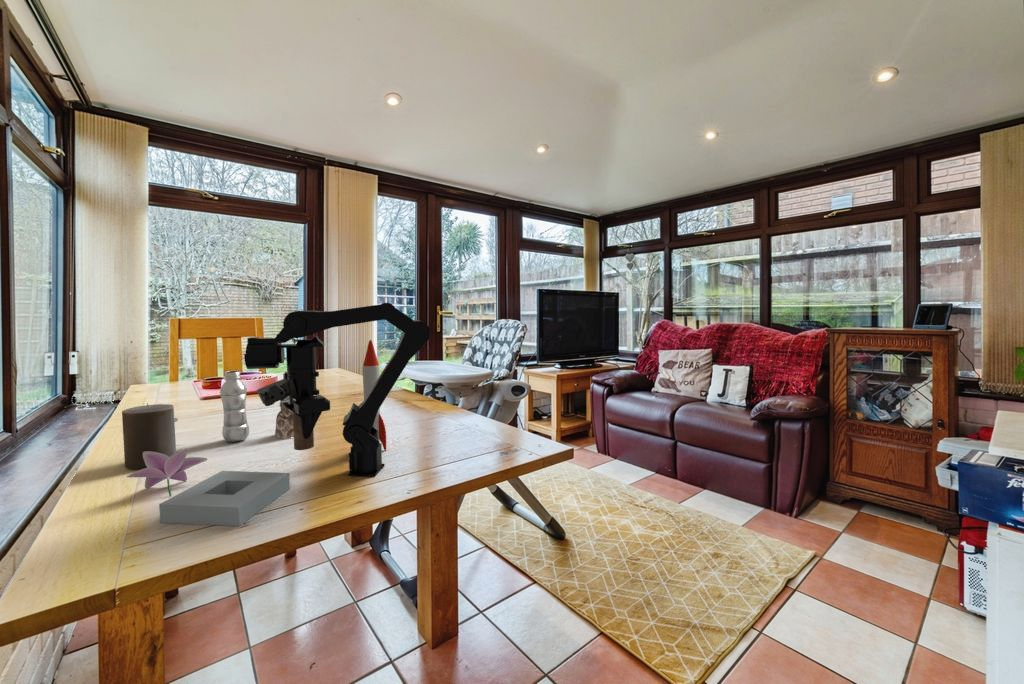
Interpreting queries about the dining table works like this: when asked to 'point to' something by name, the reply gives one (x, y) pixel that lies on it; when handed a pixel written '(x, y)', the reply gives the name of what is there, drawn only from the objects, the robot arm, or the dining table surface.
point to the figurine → (284, 422)
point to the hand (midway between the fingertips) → (303, 435)
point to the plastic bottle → (234, 407)
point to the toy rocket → (369, 379)
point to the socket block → (225, 498)
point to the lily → (166, 467)
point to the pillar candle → (147, 433)
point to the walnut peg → (301, 436)
